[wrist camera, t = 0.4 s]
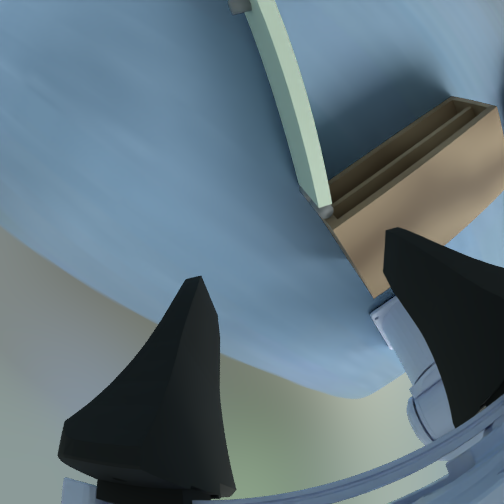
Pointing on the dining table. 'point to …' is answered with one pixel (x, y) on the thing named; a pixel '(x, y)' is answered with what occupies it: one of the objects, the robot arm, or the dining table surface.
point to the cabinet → (418, 184)
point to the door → (289, 99)
